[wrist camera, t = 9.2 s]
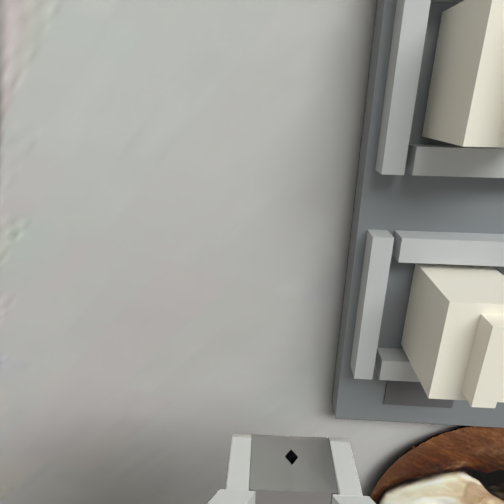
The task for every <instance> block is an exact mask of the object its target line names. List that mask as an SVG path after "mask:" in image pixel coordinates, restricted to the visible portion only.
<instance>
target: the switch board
mask: <svg viewBox="0 0 504 504" xmlns="http://www.w3.org/2000/svg"><path fill="white" fill-rule="evenodd" d="M462 1H464V0H377V7H376V16H375V25H374V34H373V43H372V52H371V60H370V69H369V78H368V87H367V96H366V105H365V114H364V122H363V131H362V140H361V149H360V158H359V167H358V175H357V184H356V193H355V202H354V211H353V220H352V228H351V237H350V246H349V255H348V264H347V273H346V282H345V290H344V299H343V308H342V317H341V326H340V335H339V343H338V352H337V361H336V370H335V379H334V388H333V397H332V404H333V409H334V415H335V418H340V419H357V420H375V421H393V422H410V423H428V424H446V425H463V426H481V427H499V428H504V403H503V402H497V404H496V407H495V408H479V407H471V406H470V404H469V403H468V401H466V400H447V399H429V398H428V397H427V395H426V393H425V391H424V389H423V387H422V385H421V383H420V381H419V379H418V377H417V375H416V373H415V371H414V369H413V367H412V365H411V363H410V361H409V359H408V357H407V355H406V353H405V351H404V349H403V347H402V346H401V341H402V335H403V330H404V324H405V318H406V313H407V307H408V302H409V296H410V290H411V285H412V279H413V273H414V268H415V263H424V264H450V265H476V266H492V267H493V268H495V269H496V270H497V271H499V272H500V273H501V274H502V275H504V148H499V147H463V146H459V145H455V144H451V143H447V142H443V141H439V140H435V139H431V138H427V137H423V136H422V131H423V125H424V119H425V113H426V107H427V101H428V95H429V89H430V83H431V76H432V70H433V64H434V58H435V52H436V46H437V40H438V34H439V28H440V22H441V16H442V12H443V11H445V10H447V9H449V8H451V7H453V6H455V5H457V4H458V3H460V2H462Z"/></svg>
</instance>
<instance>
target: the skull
mask: <svg viewBox="0 0 504 504" xmlns="http://www.w3.org/2000/svg"><path fill="white" fill-rule="evenodd" d="M414 447H415V446H414ZM414 447H412V448H413V449H412V450H410V451H409V452H407V453H406V454H405V455H403V456H402V457H401V458H398V460H396V461H395V463H394V464H393V465H392V466H391V467H390V468H389V469H388V470H387V471H386V472H385V473H384V474H383V475H382V477H381V478H380V480H379V481H378V483H377V484H376V486H375V488H374V489H373V492H372V494H371V496H370V498H371V499H372V500H373V501H374V502H375V503H376V504H504V428H499V427H481V426H471V427H465V428H459V429H457V430H453V431H450V432H445V433H442V434H440V435H437V436H436V437H432V438H431V439H429V440H427V441H426V442H423V443H421V444H420V445H419V446H418V447H416V448H414ZM393 484H394V485H393Z"/></svg>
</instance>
